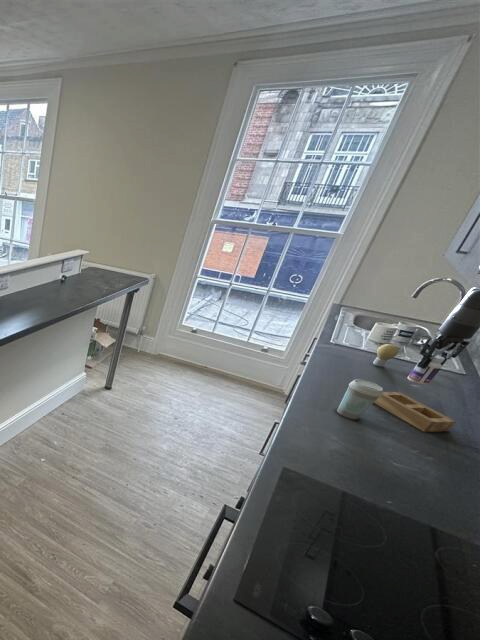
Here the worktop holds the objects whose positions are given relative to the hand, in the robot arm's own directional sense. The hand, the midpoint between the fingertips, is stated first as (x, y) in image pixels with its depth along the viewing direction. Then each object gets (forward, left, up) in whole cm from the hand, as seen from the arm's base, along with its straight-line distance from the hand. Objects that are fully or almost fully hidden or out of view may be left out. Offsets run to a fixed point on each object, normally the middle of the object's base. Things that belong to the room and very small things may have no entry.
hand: (428, 367), depth 135 cm
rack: (0, +4, -17) cm, 18 cm away
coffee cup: (+24, +3, -17) cm, 30 cm away
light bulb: (-32, -33, -17) cm, 49 cm away
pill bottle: (0, 0, -6) cm, 6 cm away
